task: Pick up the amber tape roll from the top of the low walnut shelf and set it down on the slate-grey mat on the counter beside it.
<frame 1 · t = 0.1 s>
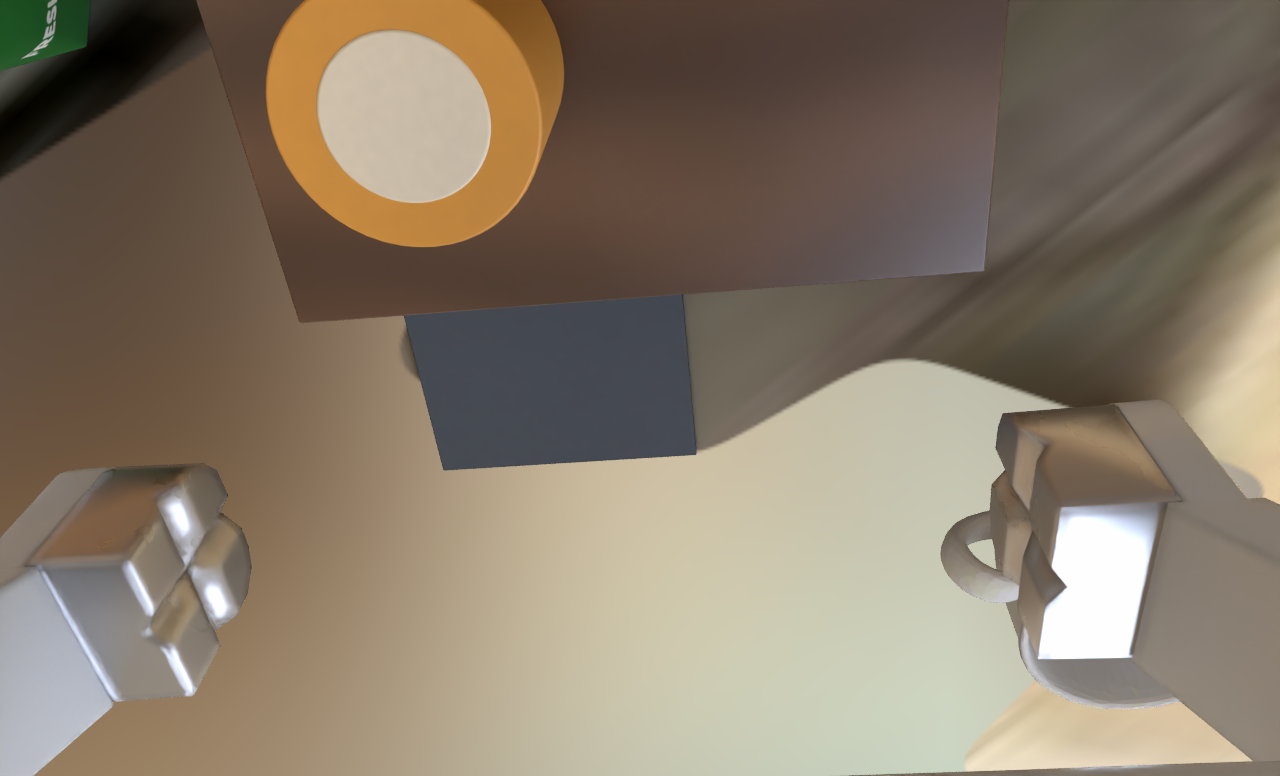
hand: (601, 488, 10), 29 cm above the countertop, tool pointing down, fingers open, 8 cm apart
tape roll: (447, 67, 25), point 12 cm above the countertop, touching shelf
teacup: (1059, 494, 47), on the countertop
mat: (550, 347, 43), on the countertop
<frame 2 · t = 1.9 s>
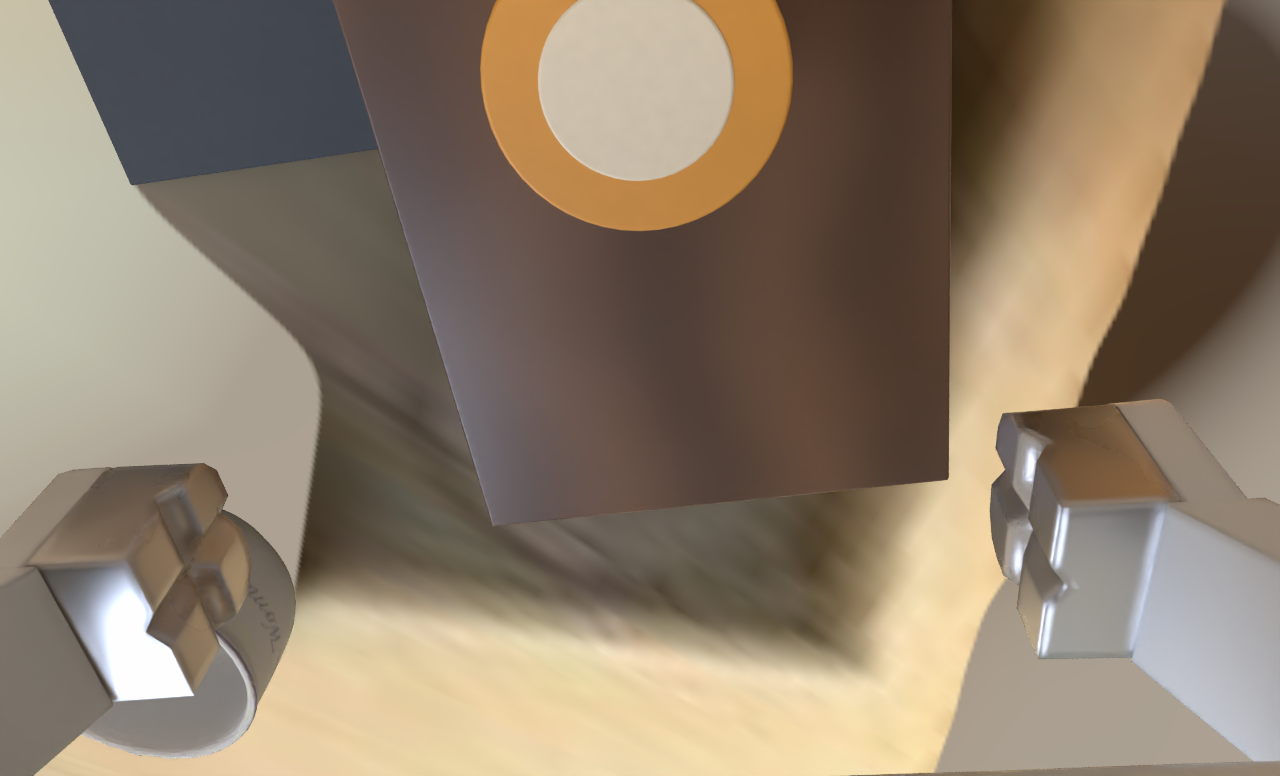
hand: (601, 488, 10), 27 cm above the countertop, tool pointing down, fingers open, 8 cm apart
shelf: (671, 73, 35), on the countertop
tape roll: (643, 33, 23), point 12 cm above the countertop, touching shelf
teacup: (209, 527, 47), on the countertop
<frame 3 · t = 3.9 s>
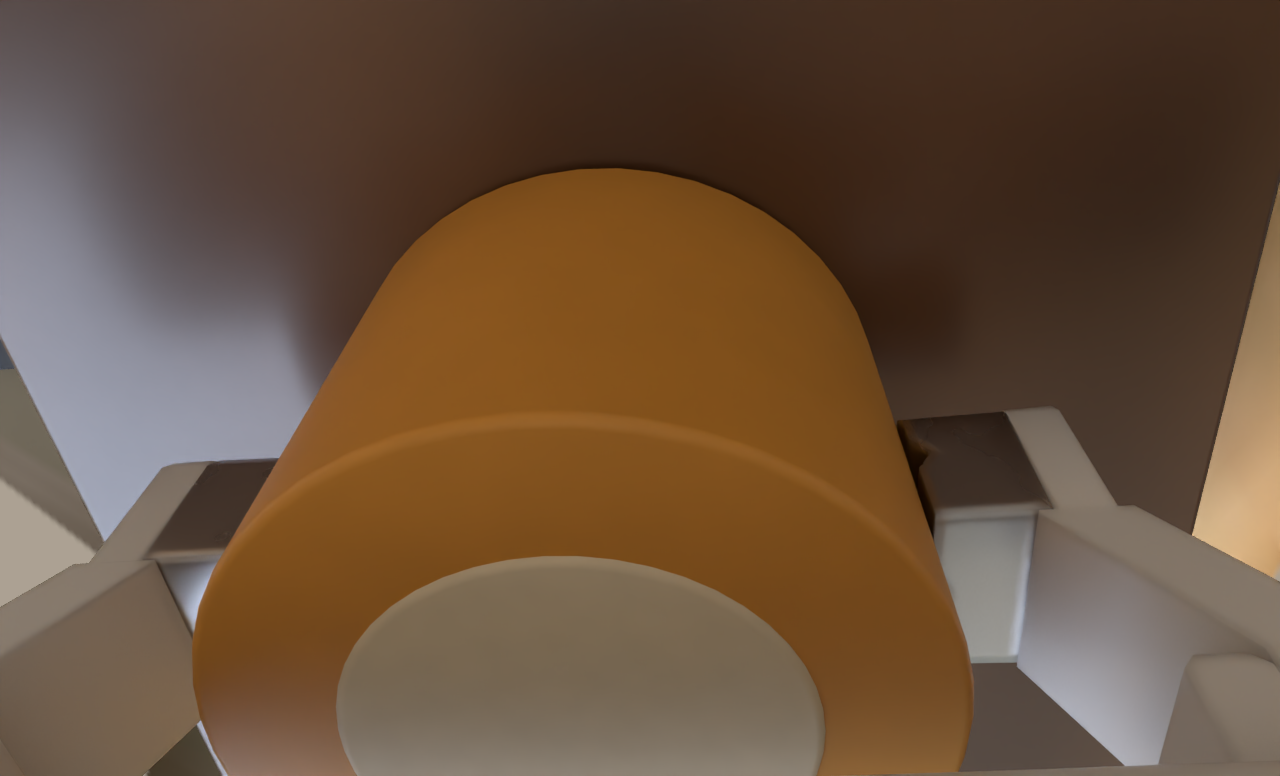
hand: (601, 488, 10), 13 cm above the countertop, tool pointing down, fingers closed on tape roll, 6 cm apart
shelf: (662, 277, 24), on the countertop
tape roll: (614, 413, 12), point 12 cm above the countertop, touching gripper, shelf
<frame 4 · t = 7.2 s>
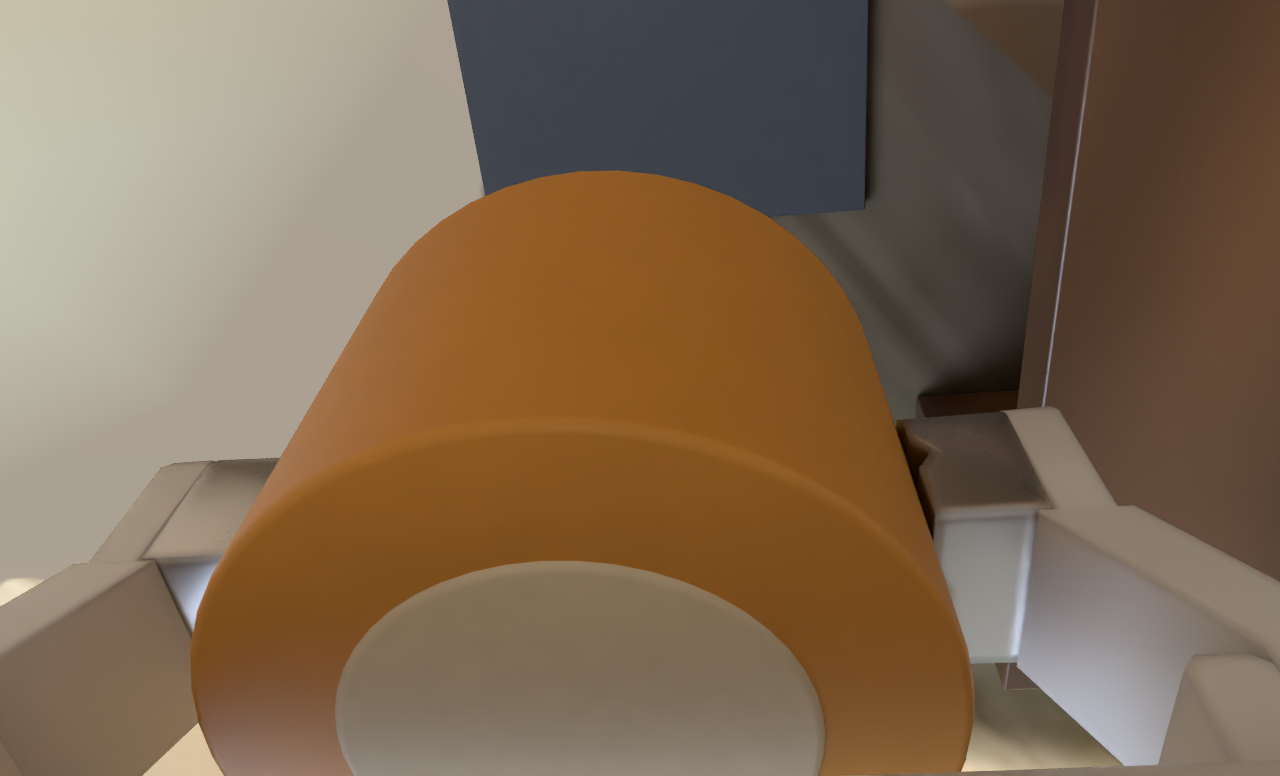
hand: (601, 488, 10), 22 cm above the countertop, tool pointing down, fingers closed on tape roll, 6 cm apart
shelf: (1161, 150, 30), on the countertop
tape roll: (614, 415, 11), point 21 cm above the countertop, touching gripper
mat: (659, 28, 29), on the countertop
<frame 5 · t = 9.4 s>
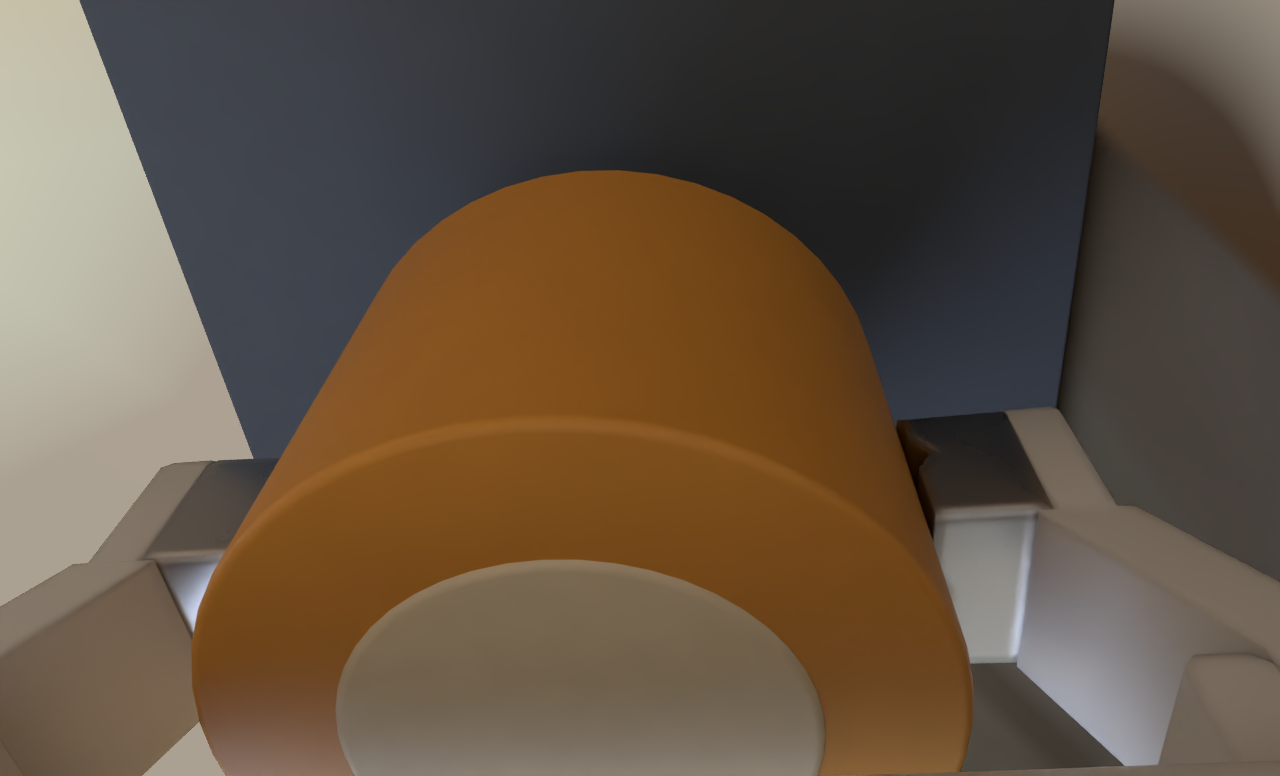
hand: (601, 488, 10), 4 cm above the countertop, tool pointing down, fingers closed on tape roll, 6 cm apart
tape roll: (614, 415, 12), point 3 cm above the countertop, touching gripper
mat: (627, 304, 14), on the countertop
when the fingers open (2 cm above the countertop, at t = 10.7 s): tape roll stays where it is, resting on mat.
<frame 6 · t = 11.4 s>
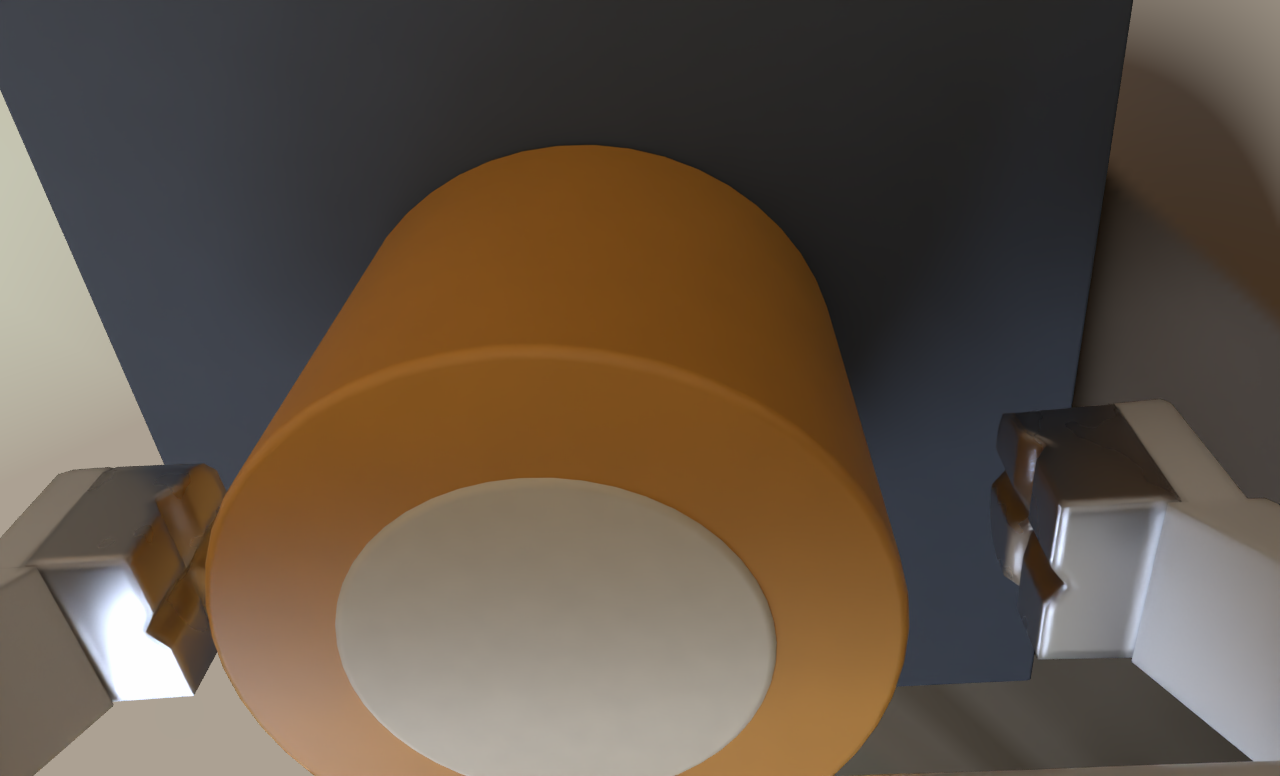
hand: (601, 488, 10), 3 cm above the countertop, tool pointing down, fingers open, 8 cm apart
tape roll: (593, 376, 12), resting on mat
mat: (594, 358, 13), on the countertop
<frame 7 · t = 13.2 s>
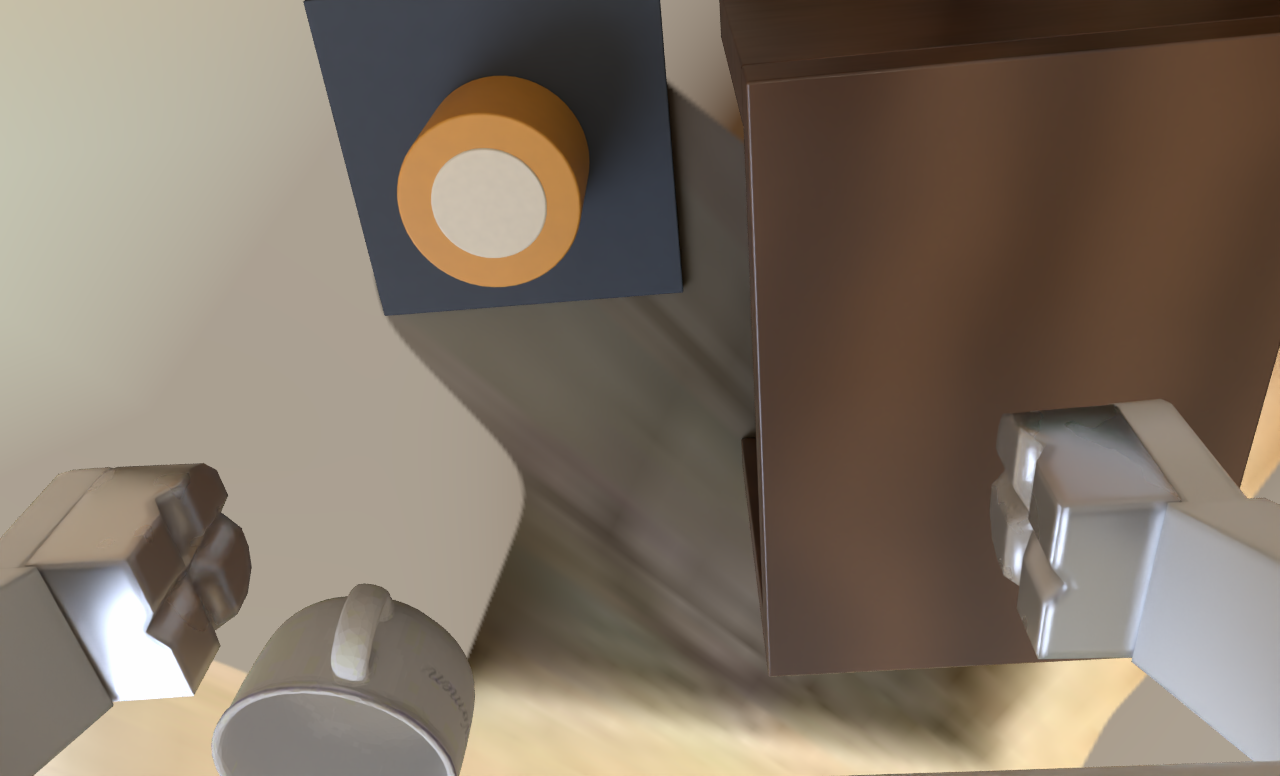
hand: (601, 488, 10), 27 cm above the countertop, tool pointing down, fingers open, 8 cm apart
shelf: (914, 246, 38), on the countertop
tape roll: (507, 158, 36), resting on mat
teacup: (387, 619, 49), on the countertop
mat: (508, 154, 36), on the countertop
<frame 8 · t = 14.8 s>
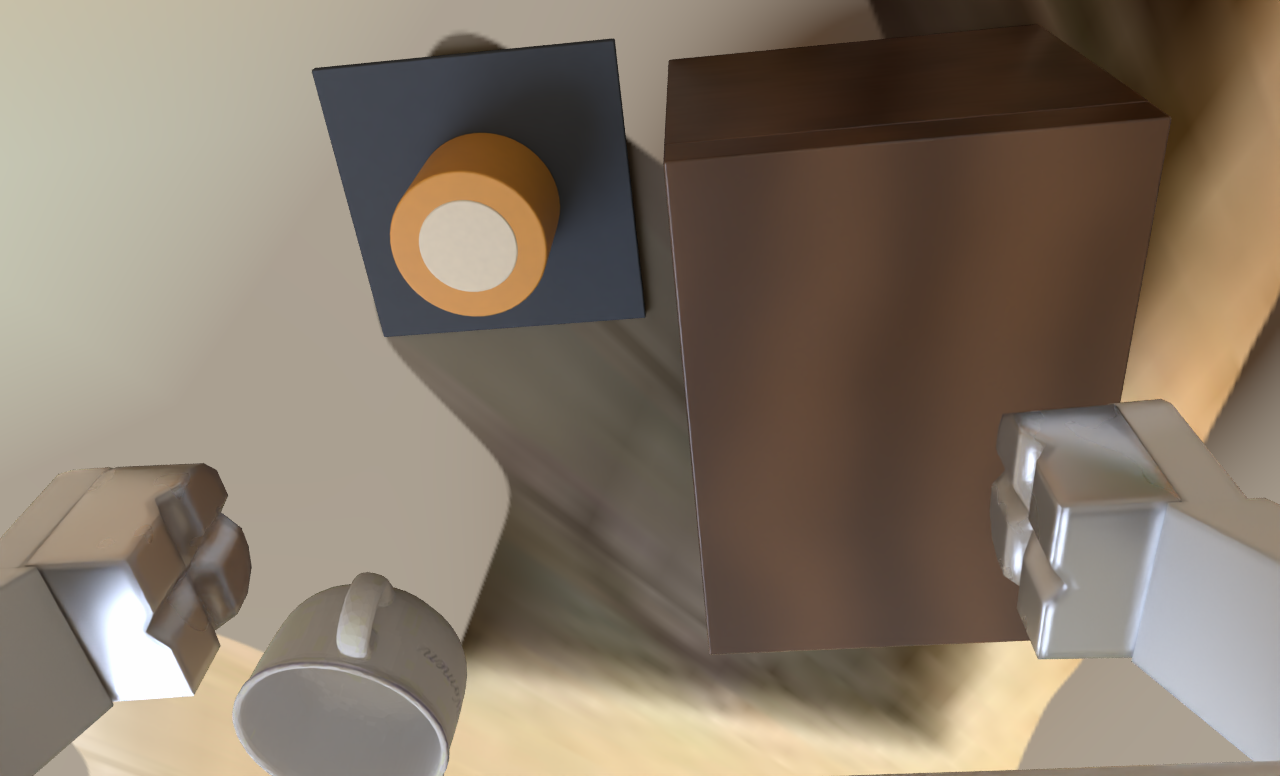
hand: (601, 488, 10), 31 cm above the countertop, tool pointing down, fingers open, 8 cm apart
shelf: (848, 278, 43), on the countertop
tape roll: (488, 202, 41), resting on mat
teacup: (389, 605, 55), on the countertop
mat: (490, 198, 42), on the countertop
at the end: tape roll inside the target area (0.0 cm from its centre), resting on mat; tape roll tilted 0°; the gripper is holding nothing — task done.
